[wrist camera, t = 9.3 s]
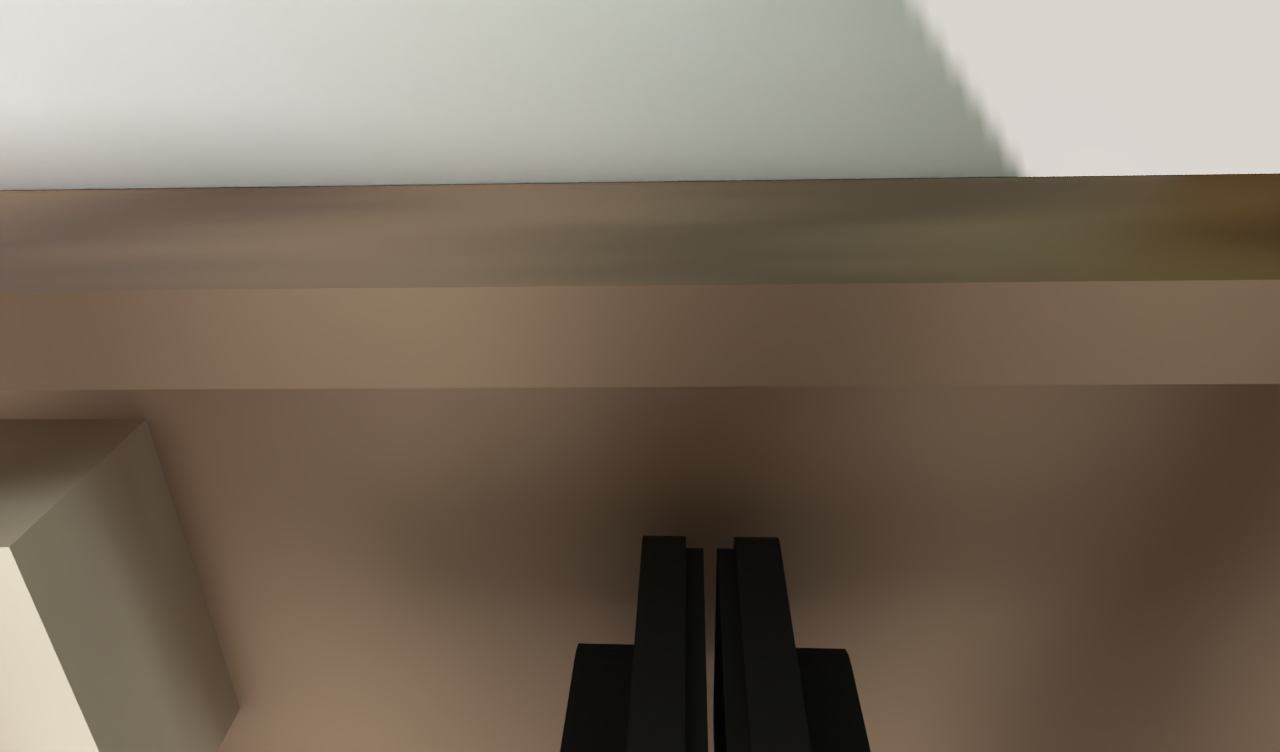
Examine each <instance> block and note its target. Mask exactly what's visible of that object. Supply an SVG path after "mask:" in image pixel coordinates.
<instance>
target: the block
mask: <svg viewBox="0 0 1280 752" xmlns="http://www.w3.org/2000/svg"><path fill="white" fill-rule="evenodd" d="M239 710H240V708H239V705H238V702H237V699H236V695H235V692H234V689H233V686H232V683H231V680H230V677H229V674H228V671H227V668H226V664H225V661H224V658H223V655H222V652H221V649H220V646H219V643H218V640H217V637H216V633H215V630H214V627H213V624H212V621H211V618H210V615H209V612H208V609H207V606H206V603H205V599H204V596H203V593H202V590H201V587H200V584H199V581H198V578H197V575H196V572H195V568H194V565H193V562H192V559H191V556H190V553H189V550H188V547H187V544H186V541H185V537H184V534H183V531H182V528H181V525H180V522H179V519H178V516H177V513H176V510H175V506H174V503H173V500H172V497H171V494H170V491H169V488H168V485H167V482H166V479H165V475H164V472H163V469H162V466H161V463H160V460H159V457H158V454H157V451H156V448H155V445H154V441H153V438H152V435H151V432H150V429H149V426H148V423H147V420H146V419H9V420H0V752H217V750H218V748H219V747H220V745H221V743H222V741H223V739H224V738H225V736H226V734H227V732H228V730H229V728H230V727H231V725H232V723H233V721H234V719H235V718H236V716H237V714H238V712H239Z"/></svg>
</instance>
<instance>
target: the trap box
mask: <svg viewBox="0 0 1280 752" xmlns="http://www.w3.org/2000/svg"><path fill="white" fill-rule="evenodd" d="M9 419H146V420H147V423H148V426H149V429H150V432H151V435H152V438H153V441H154V445H155V448H156V451H157V454H158V457H159V460H160V463H161V466H162V469H163V472H164V475H165V479H166V482H167V485H168V488H169V491H170V494H171V497H172V500H173V503H174V506H175V510H176V513H177V516H178V519H179V522H180V525H181V528H182V531H183V534H184V537H185V541H186V544H187V547H188V550H189V553H190V556H191V559H192V562H193V565H194V568H195V572H196V575H197V578H198V581H199V584H200V587H201V590H202V593H203V596H204V599H205V603H206V606H207V609H208V612H209V615H210V618H211V621H212V624H213V627H214V630H215V633H216V637H217V640H218V643H219V646H220V649H221V652H222V655H223V658H224V661H225V664H226V668H227V671H228V674H229V677H230V680H231V683H232V686H233V689H234V692H235V695H236V699H237V702H238V705H239V708H240V710H239V712H238V714H237V716H236V718H235V719H234V721H233V723H232V725H231V727H230V728H229V730H228V732H227V734H226V736H225V738H224V739H223V741H222V743H221V745H220V747H219V748H218V750H217V752H560V748H561V741H562V735H563V729H564V722H565V716H566V710H567V703H568V697H569V690H570V684H571V678H572V671H573V665H574V659H575V654H576V649H577V646H578V644H579V643H588V644H634V640H635V627H636V614H637V601H638V588H639V574H640V561H641V548H642V537H643V535H645V536H686V548H703V556H704V597H705V638H706V679H707V720H708V752H714V738H713V691H714V649H715V607H716V565H717V548H729V549H733V544H734V537H778V538H779V541H780V546H781V553H782V559H783V566H784V573H785V579H786V586H787V593H788V599H789V606H790V613H791V619H792V626H793V633H794V639H795V646H796V648H834V649H846V651H847V653H848V655H849V658H850V662H851V665H852V670H853V674H854V679H855V683H856V687H857V692H858V696H859V701H860V705H861V710H862V714H863V719H864V723H865V728H866V732H867V737H868V741H869V746H870V750H871V752H1280V174H1224V175H1223V174H1222V175H1147V176H1078V177H1077V176H1074V177H998V178H924V179H849V180H775V181H701V182H626V183H552V184H478V185H403V186H329V187H255V188H180V189H106V190H32V191H0V420H9Z"/></svg>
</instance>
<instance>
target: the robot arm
mask: <svg viewBox="0 0 1280 752" xmlns="http://www.w3.org/2000/svg"><path fill="white" fill-rule="evenodd" d="M713 738H714V752H871V750H870V746H869V741H868V737H867V732H866V728H865V723H864V719H863V714H862V710H861V705H860V701H859V696H858V692H857V687H856V683H855V679H854V674H853V670H852V665H851V662H850V658H849V655H848V653H847V651H846V649H834V648H796V646H795V639H794V633H793V626H792V619H791V613H790V606H789V599H788V593H787V586H786V579H785V573H784V566H783V559H782V553H781V546H780V541H779V538H778V537H734V544H733V549H729V548H717V565H716V607H715V649H714V691H713ZM560 752H708V720H707V679H706V638H705V597H704V556H703V548H686V536H645V535H643V537H642V548H641V561H640V574H639V588H638V601H637V614H636V627H635V640H634V644H588V643H579V644H578V646H577V649H576V654H575V659H574V665H573V671H572V678H571V684H570V690H569V697H568V703H567V710H566V716H565V722H564V729H563V735H562V741H561V748H560Z"/></svg>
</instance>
